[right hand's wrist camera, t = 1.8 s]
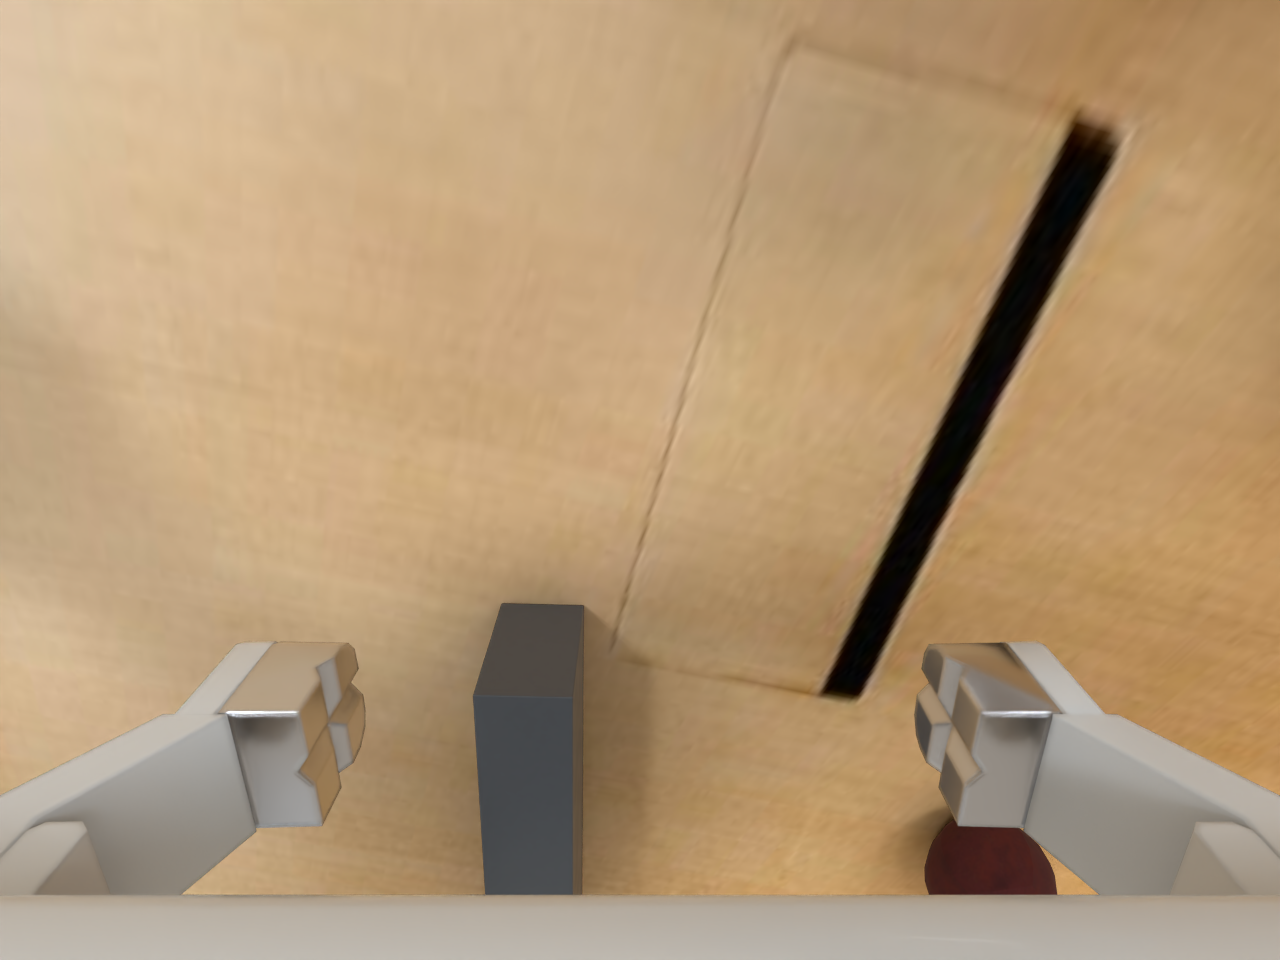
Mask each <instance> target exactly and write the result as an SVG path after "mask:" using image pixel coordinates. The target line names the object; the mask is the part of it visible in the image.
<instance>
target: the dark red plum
mask: <svg viewBox="0 0 1280 960" xmlns="http://www.w3.org/2000/svg"><path fill="white" fill-rule="evenodd" d="M925 882H926V886H927V889H928V893H929V895H1057V889H1056V882H1055V875H1054V872H1053V870H1052V867H1051V865H1050V863H1049V861H1048V859H1047V858H1046V856H1045V854H1044V853H1043V851H1042V849H1041V848H1040V846H1039V845H1038V844H1037V843H1036V842H1035V841H1034V840H1033V839H1032V838H1031V837H1030V836H1029V835H1028V834H1026V833H1025V832H1024V831H1022V830H1021V829H1020V828H1008V827H972V826H958V825H957V823H956V821H955V819H954V820H952V821H951V822H949V823H948V824H947V825H945V827H944V828H943V830H942V831H941V832H940V833H939V835H938V836H937V837H936V838H935V839H934V841H933V843H932V845H931V848H930V850H929V853H928V857H927V860H926V864H925Z"/></svg>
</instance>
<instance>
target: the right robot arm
mask: <svg viewBox="0 0 1280 960" xmlns="http://www.w3.org/2000/svg"><path fill="white" fill-rule="evenodd" d="M358 669H359V668H358V663H357V658H356V654H355V649H354V648H353V647H352V646H351V645H350V644H349V643H328V642H276V641H245V642H242V643H239V644H236V645H235V646H234V647H233V648H232V649H231V650H230V652H229V653H228V654H227V655H226V656H225V657H224V658H223V660H222V661H221V662H220V663H219V664H218V665H217V666H216V667H215V669H214V670H213V671H212V672H211V673H210V674H209V675H208V677H207V678H206V679H205V680H204V681H203V682H202V683H201V685H200V686H199V687H198V688H197V689H196V690H195V691H194V693H193V694H192V695H191V696H190V697H189V698H188V699H187V700H186V702H185V703H184V704H183V705H182V706H181V707H180V708H179V710H178V711H177V712H176V713H175V714H162V715H160V716H158V717H156V718H154V719H152V720H150V721H148V722H146V723H144V724H142V725H140V726H138V727H136V728H134V729H132V730H130V731H128V732H126V733H124V734H122V735H120V736H118V737H116V738H114V739H112V740H110V741H108V742H106V743H104V744H102V745H100V746H98V747H96V748H94V749H92V750H90V751H88V752H86V753H84V754H82V755H80V756H78V757H76V758H74V759H72V760H70V761H68V762H66V763H64V764H62V765H60V766H58V767H56V768H54V769H52V770H50V771H48V772H46V773H44V774H42V775H40V776H38V777H36V778H34V779H32V780H30V781H28V782H26V783H24V784H22V785H20V786H18V787H16V788H14V789H12V790H10V791H8V792H6V793H4V794H2V795H0V960H1280V795H1278V794H1276V793H1274V792H1272V791H1270V790H1268V789H1266V788H1264V787H1262V786H1260V785H1258V784H1256V783H1254V782H1252V781H1250V780H1248V779H1246V778H1244V777H1242V776H1240V775H1238V774H1236V773H1234V772H1232V771H1230V770H1228V769H1226V768H1224V767H1222V766H1220V765H1218V764H1216V763H1214V762H1212V761H1210V760H1208V759H1206V758H1204V757H1202V756H1200V755H1198V754H1196V753H1194V752H1192V751H1190V750H1188V749H1186V748H1184V747H1182V746H1180V745H1178V744H1176V743H1174V742H1172V741H1170V740H1168V739H1166V738H1164V737H1162V736H1160V735H1158V734H1156V733H1154V732H1152V731H1150V730H1148V729H1146V728H1144V727H1142V726H1140V725H1138V724H1136V723H1134V722H1132V721H1130V720H1128V719H1126V718H1124V717H1122V716H1120V715H1118V714H1105V713H1104V712H1103V711H1102V710H1101V708H1100V707H1099V706H1098V705H1097V704H1096V703H1095V702H1094V700H1093V699H1092V698H1091V697H1090V696H1089V695H1088V694H1087V693H1086V691H1085V690H1084V689H1083V688H1082V687H1081V686H1080V685H1079V683H1078V682H1077V681H1076V680H1075V679H1074V678H1073V677H1072V675H1071V674H1070V673H1069V672H1068V671H1067V670H1066V669H1065V667H1064V666H1063V665H1062V664H1061V663H1060V662H1059V661H1058V660H1057V658H1056V657H1055V656H1054V655H1053V654H1052V653H1051V652H1050V650H1049V649H1048V648H1047V647H1046V646H1045V645H1044V644H1042V643H1039V642H1037V641H1017V642H1000V643H954V644H929V645H928V647H927V649H926V651H925V653H924V657H923V663H922V668H921V669H922V671H923V672H924V674H925V676H926V678H927V679H928V681H929V683H928V684H927V685H926V686H925V687H924V688H923V689H922V690H921V691H920V692H919V693H918V694H917V698H916V706H915V714H914V716H915V728H916V736H917V740H918V743H919V747H920V750H921V752H922V754H923V756H924V758H925V760H926V763H928V764H929V765H931V766H932V767H933V768H935V769H936V770H938V771H939V772H941V777H940V782H939V789H940V791H941V793H942V795H943V797H944V799H945V801H946V803H947V805H948V807H949V809H950V811H951V813H952V815H953V817H954V819H955V821H956V823H957V825H958V826H972V827H1008V828H1024V830H1023V831H1024V832H1025V833H1026V834H1028V835H1029V836H1030V837H1031V838H1032V839H1034V840H1035V841H1036V842H1037V843H1038V844H1040V845H1041V846H1042V847H1043V848H1044V849H1046V850H1047V851H1048V852H1049V853H1050V854H1051V855H1053V856H1054V857H1055V858H1056V859H1057V860H1059V861H1060V862H1061V863H1062V864H1063V865H1065V866H1066V867H1067V868H1068V869H1069V870H1071V871H1072V872H1073V873H1074V874H1075V875H1077V876H1078V877H1079V878H1080V879H1081V880H1082V881H1084V882H1085V883H1086V884H1087V885H1088V886H1090V887H1091V888H1092V889H1093V890H1094V891H1096V892H1097V893H1098V894H1099V895H181V894H182V893H183V892H185V891H186V890H187V889H188V888H189V887H191V886H192V885H193V884H194V883H195V882H197V881H198V880H199V879H200V878H201V877H203V876H204V875H205V874H206V873H207V872H209V871H210V870H211V869H212V868H213V867H214V866H216V865H217V864H218V863H219V862H220V861H222V860H223V859H224V858H225V857H226V856H228V855H229V854H230V853H231V852H232V851H234V850H235V849H236V848H237V847H238V846H240V845H241V844H242V843H243V842H244V841H246V840H247V839H248V838H249V837H250V836H252V835H253V834H254V833H255V832H256V828H271V827H306V826H322V825H323V823H324V821H325V819H326V817H327V815H328V813H329V811H330V809H331V807H332V805H333V803H334V801H335V799H336V797H337V795H338V793H339V791H340V789H341V782H340V777H339V772H341V771H342V770H344V769H345V768H347V767H348V766H349V765H351V764H352V763H354V760H355V758H356V756H357V754H358V752H359V750H360V747H361V744H362V739H363V734H364V729H365V704H364V698H363V694H362V693H361V692H360V691H359V690H358V689H357V688H356V687H355V686H354V685H353V684H352V683H351V681H352V679H353V678H354V676H355V674H356V672H357V671H358Z"/></svg>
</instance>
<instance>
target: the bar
mask: <svg viewBox="0 0 1280 960" xmlns="http://www.w3.org/2000/svg"><path fill="white" fill-rule="evenodd" d="M583 658H584V606H583V605H546V604H507V603H502V604H501V607H500V611H499V614H498V617H497V620H496V623H495V627H494V630H493V633H492V636H491V640H490V643H489V646H488V649H487V652H486V656H485V659H484V662H483V665H482V668H481V672H480V675H479V678H478V681H477V685H476V688H475V691H474V694H473V703H474V719H475V735H476V752H477V768H478V784H479V800H480V817H481V833H482V849H483V865H484V881H485V895H582V826H583Z"/></svg>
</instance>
